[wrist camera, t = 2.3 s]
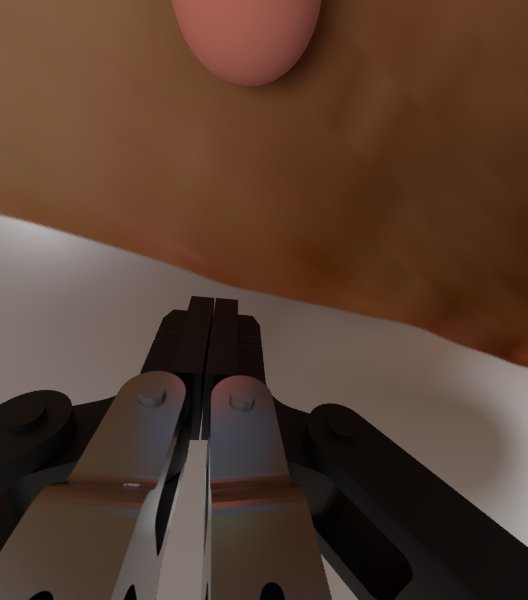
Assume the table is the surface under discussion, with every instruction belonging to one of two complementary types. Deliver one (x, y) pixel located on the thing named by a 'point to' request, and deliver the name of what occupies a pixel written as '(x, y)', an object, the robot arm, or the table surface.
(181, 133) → the table surface
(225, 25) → the ball
